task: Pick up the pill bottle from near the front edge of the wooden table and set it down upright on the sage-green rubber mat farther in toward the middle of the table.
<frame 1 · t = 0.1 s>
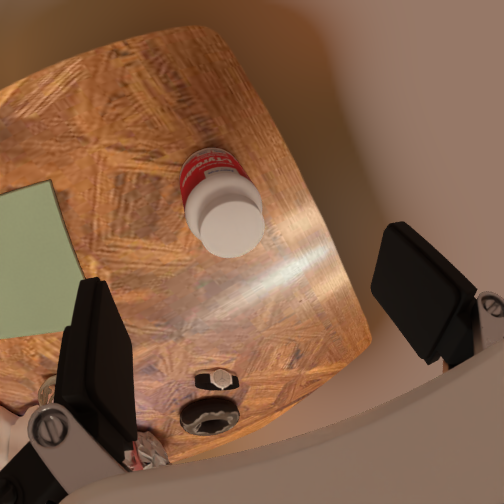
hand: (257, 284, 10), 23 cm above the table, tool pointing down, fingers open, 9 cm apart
bracelet: (63, 375, 42), on the table
decorative sculpture: (129, 440, 59), on the table
pill bottle: (209, 174, 31), on the table
white spiky figurine: (1, 410, 44), on the table
mat: (10, 274, 30), on the table
donut: (207, 408, 57), on the table
watch: (215, 374, 50), on the table
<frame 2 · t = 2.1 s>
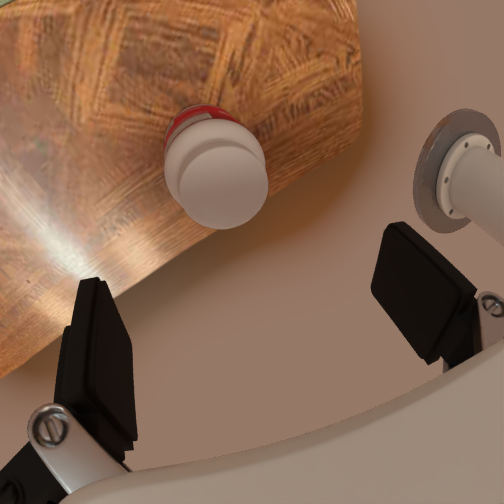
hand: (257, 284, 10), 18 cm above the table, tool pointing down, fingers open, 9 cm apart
pill bottle: (201, 138, 25), on the table
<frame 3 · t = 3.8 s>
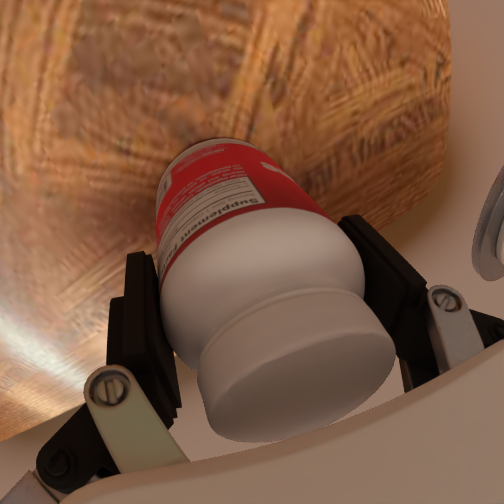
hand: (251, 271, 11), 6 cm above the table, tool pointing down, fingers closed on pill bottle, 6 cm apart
pill bottle: (218, 194, 16), on the table, touching gripper
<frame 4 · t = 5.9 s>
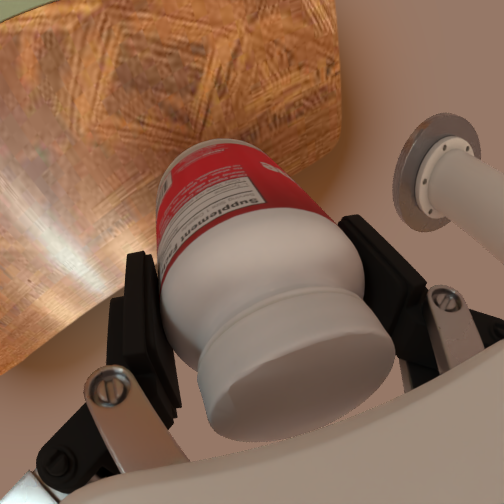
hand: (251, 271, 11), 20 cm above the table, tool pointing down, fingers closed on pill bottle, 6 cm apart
pill bottle: (218, 194, 16), point 14 cm above the table, touching gripper
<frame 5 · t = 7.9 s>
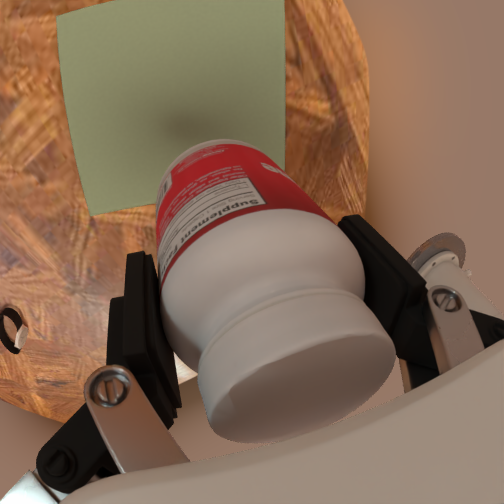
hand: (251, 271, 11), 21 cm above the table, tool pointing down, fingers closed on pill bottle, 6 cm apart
pill bottle: (218, 195, 16), point 15 cm above the table, touching gripper
mat: (175, 95, 25), on the table
watch: (14, 323, 33), on the table
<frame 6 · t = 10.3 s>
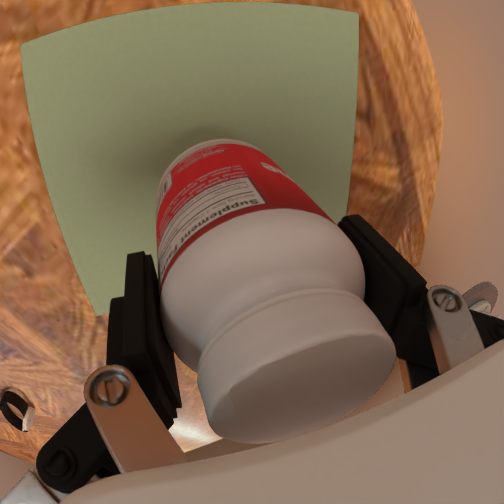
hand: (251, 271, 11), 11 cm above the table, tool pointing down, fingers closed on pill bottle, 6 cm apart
pill bottle: (218, 194, 16), point 4 cm above the table, touching gripper
mat: (205, 165, 19), on the table
watch: (18, 401, 27), on the table
when the fingers open (7 cm above the table, at t = 11.8 s): pill bottle stays where it is, resting on mat.
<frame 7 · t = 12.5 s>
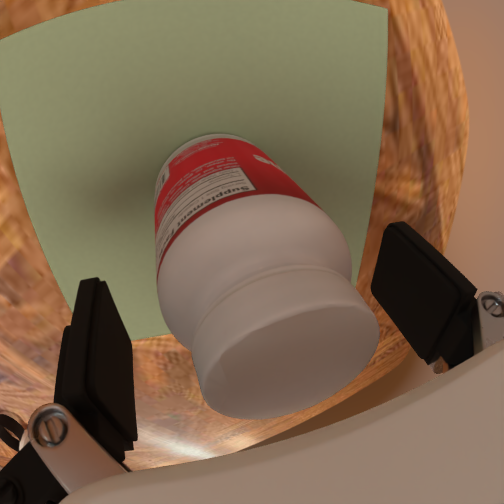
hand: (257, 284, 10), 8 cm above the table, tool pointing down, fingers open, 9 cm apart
pill bottle: (214, 187, 16), resting on mat
mat: (210, 183, 16), on the table
watch: (13, 423, 24), on the table
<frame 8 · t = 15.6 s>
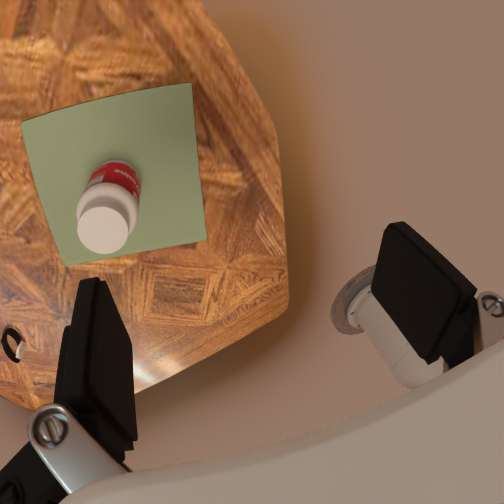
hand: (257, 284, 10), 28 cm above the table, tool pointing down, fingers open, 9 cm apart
pill bottle: (115, 182, 34), resting on mat
mat: (115, 181, 34), on the table
watch: (14, 339, 42), on the table
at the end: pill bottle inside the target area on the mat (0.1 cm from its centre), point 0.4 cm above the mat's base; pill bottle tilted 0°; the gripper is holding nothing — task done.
